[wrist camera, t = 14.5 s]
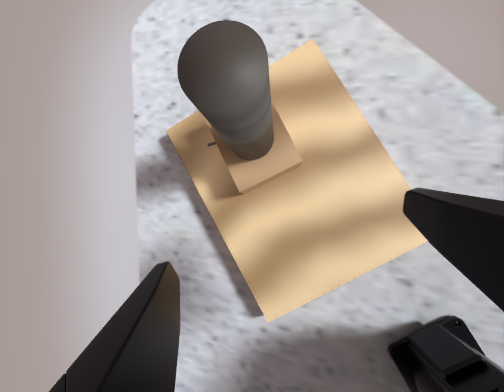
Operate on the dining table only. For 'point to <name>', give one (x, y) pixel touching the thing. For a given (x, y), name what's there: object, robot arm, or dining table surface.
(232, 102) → the rubber stamp
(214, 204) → the pine board
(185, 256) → the dining table surface
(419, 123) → the dining table surface
